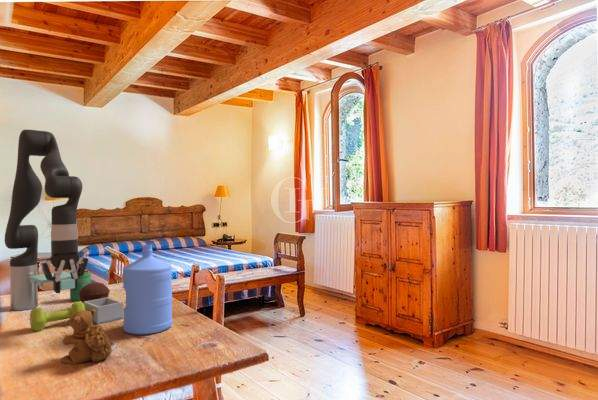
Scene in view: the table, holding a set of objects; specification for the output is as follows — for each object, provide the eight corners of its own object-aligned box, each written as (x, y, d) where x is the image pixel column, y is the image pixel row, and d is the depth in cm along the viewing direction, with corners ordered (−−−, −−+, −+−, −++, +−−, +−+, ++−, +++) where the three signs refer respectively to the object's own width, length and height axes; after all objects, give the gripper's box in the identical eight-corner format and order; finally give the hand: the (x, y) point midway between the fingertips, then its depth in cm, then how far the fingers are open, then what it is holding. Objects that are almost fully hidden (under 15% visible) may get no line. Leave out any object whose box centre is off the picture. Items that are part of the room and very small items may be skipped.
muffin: (112, 309, 165) (112, 284, 165) (81, 314, 158) (80, 287, 158) (107, 303, 174) (106, 279, 174) (77, 307, 168) (76, 282, 168)
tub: (83, 318, 153) (83, 301, 153) (108, 312, 160) (108, 297, 159) (97, 324, 145) (97, 307, 145) (123, 318, 152) (122, 302, 152)
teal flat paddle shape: (29, 284, 141) (29, 276, 141) (64, 279, 149) (63, 271, 149) (49, 292, 128) (49, 283, 128) (86, 286, 136) (85, 277, 136)
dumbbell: (32, 334, 136) (32, 312, 136) (28, 328, 142) (28, 307, 142) (87, 323, 146) (87, 303, 146) (81, 318, 152) (81, 299, 152)
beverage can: (87, 296, 186) (87, 269, 186) (93, 299, 180) (93, 272, 180) (68, 299, 181) (67, 272, 181) (73, 303, 175) (72, 274, 175)
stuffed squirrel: (86, 349, 121) (85, 304, 121) (123, 356, 116) (123, 308, 116) (54, 362, 112) (54, 313, 112) (93, 370, 107) (92, 318, 107)
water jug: (182, 324, 145) (181, 243, 144) (148, 338, 130) (147, 248, 130) (148, 318, 151) (147, 241, 151) (112, 331, 137) (111, 246, 137)
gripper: (83, 236, 141) (83, 286, 141) (35, 239, 131) (36, 294, 131) (92, 237, 136) (93, 289, 137) (43, 240, 126) (44, 297, 126)
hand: (65, 291), depth 134 cm, fingers closed on teal flat paddle shape, 4 cm apart
